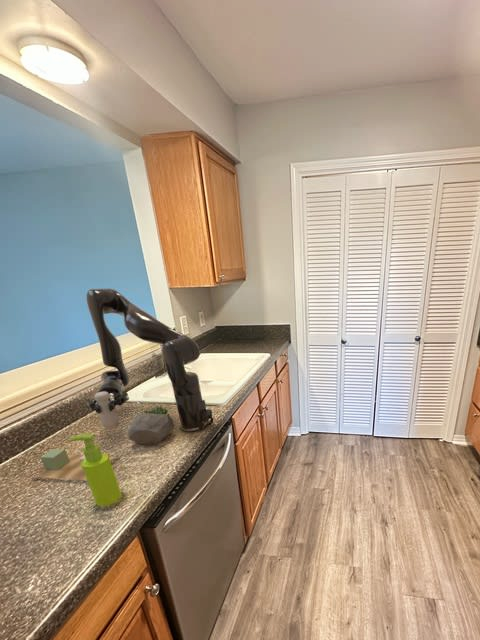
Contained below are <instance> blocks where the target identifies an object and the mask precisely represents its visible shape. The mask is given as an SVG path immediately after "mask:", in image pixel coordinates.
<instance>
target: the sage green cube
mask: <svg viewBox="0 0 480 640" xmlns="http://www.w3.org/2000/svg"><path fill="white" fill-rule="evenodd" d="M68 455H69V454H68V453H67V450H66V449H60V448H52V449H51V450H49V451H47V452H46V453H44V454H43V455H41V456H40V460H41V462H42V465H43V466H44V470H45V469H48V470H59V469H61V468H62V467H63V466H65V465H66V464H67V463H69V462H70V460H69V458H68Z"/></svg>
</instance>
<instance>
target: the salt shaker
mask: <svg viewBox="0 0 480 640" xmlns="http://www.w3.org/2000/svg"><path fill="white" fill-rule="evenodd" d="M93 397H94V400H96V401H98V403H99V406H100V410H101V413H99V422H100V425H101V426H102V428H103V429H105V431H112V430H115V429H117V428H118V427H119V426H120V421H121V420H120V417H119V416H118V413H117V412H116V409H113V411H110V410H109V407H108V405H109V403H110V401H109V398H110V395H109V393H108V392H105V391H104V392H99V393H98V392H96V393H95V394H94V396H93Z"/></svg>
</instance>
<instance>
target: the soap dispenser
mask: <svg viewBox="0 0 480 640" xmlns="http://www.w3.org/2000/svg"><path fill="white" fill-rule="evenodd" d="M95 436H96V435H95V433H81V434H76V435H72V436H71V437H70V438H68V439H67V442H75V441H83V443H84V447H83V448H82V452H83V455H85V458H86V459H84V460H83V461H82V463H81V465H82V468H83V470H84V473H85V476H86V478H87V480H86V481H87V484H88V486H89V488H90V492H91V494H92V496H93V499H94V501H95V504H96V506H98V507H103V508H104V507H109V506H111V505H113V504H115V503H117V502H118V501H119V500H120V499H121V498H122V493H121V489H120V486H119V483H118V480H117V477H116V474H115V471H114V469H113V465H112V461H110V459H109V456H110V455H109V454H108V453H105V452H104V453H101V451H102V450H101V448H100V446H99V444H97V443H94V441H93V439H94V438H95Z"/></svg>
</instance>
